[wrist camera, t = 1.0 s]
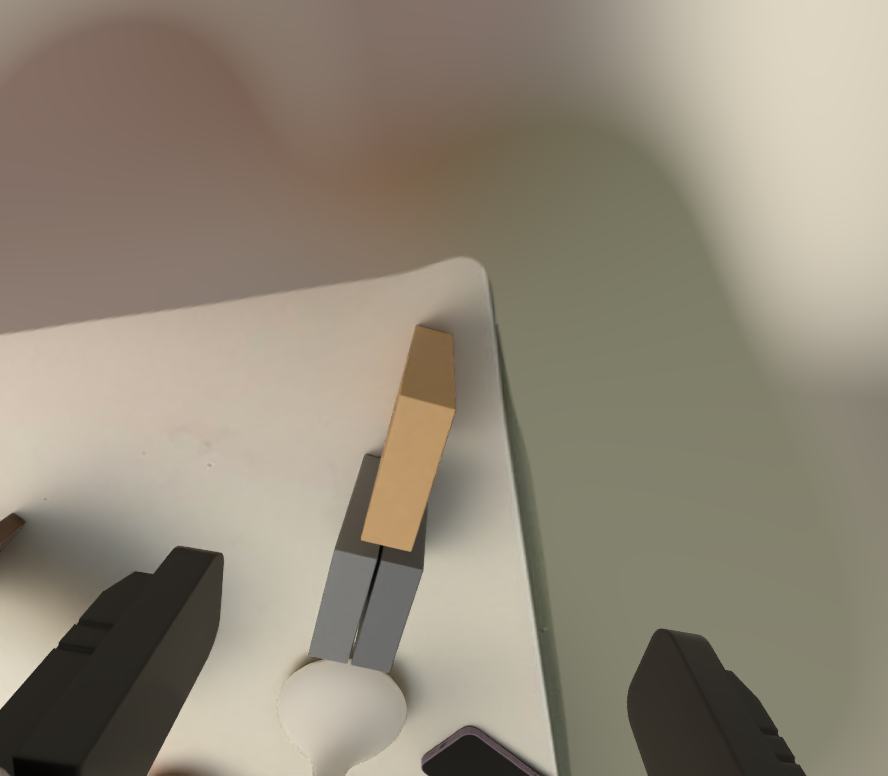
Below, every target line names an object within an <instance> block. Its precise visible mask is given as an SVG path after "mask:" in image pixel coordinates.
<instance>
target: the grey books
mask: <svg viewBox="0 0 888 776" xmlns="http://www.w3.org/2000/svg"><path fill="white" fill-rule="evenodd" d="M380 460H381V458H378V457H374V456H370V455H364V458H363V461H362V465H361V468H360V471H359V474H358V477H357V480H356V483H355V487H354V490H353V493H352V496H351V499H350V502H349V505H348V509H347V512H346V515H345V518H344V521H343V524H342V527H341V530H340V534H339V537H338V540H337V543H336V546H335V549H334V553H333V557H332V561H331V565H330V569H329V573H328V577H327V581H326V585H325V589H324V593H323V597H322V601H321V605H320V609H319V613H318V617H317V621H316V625H315V629H314V633H313V637H312V641H311V645H310V649H309V653H308V655H309V656H311V657H316V658H321V659H325V660H330V661H335V662H340V663H344V664H347V663H348V660H349V657H350V653H351V650H352V646H353V643H354V639H355V636H356V632H357V629H358V632H357V637H356V642H355V646H354V651H353V656H352V661H351V665H353V666H358V667H363V668H367V669H372V670H377V671H382V672H386V673H389V672H390V670H391V667H392V664H393V661H394V658H395V655H396V652H397V649H398V646H399V643H400V640H401V637H402V634H403V630H404V627H405V624H406V621H407V618H408V615H409V612H410V609H411V606H412V603H413V600H414V597H415V594H416V591H417V588H418V585H419V582H420V579H421V576H422V573H423V567H424V552H425V536H426V520H427V504H428V501H427V504H426V507H425V511H424V514H423V517H422V520H421V523H420V526H419V530H418V533H417V536H416V539H415V542H414V546H413V549H412V551H411V552H409V551H405V550H400V549H396V548H392V547H387V546H383V545H379V544H375V543H370V542H366V541H362V540H361V535H362V531H363V527H364V523H365V519H366V515H367V511H368V507H369V503H370V499H371V496H372V492H373V488H374V484H375V480H376V476H377V472H378V468H379V464H380ZM358 625H359V627H358Z"/></svg>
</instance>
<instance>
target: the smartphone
mask: <svg viewBox="0 0 888 776" xmlns="http://www.w3.org/2000/svg"><path fill="white" fill-rule="evenodd" d="M421 768H422V771H423V772H424V773H425V774H427V775H428V776H540V775H539V774H537V773H536V772H535V771H533V770H532V769H530V768H529V767H528V766H526V765H525V764H524V763H522V762H521V761H520V760H518V759H517V758H516V757H514V756H513V755H512V754H510V753H509V752H508V751H506V750H505V749H504V748H502V747H501V746H500V745H498V744H497V743H496V742H494V741H493V740H492V739H490V738H489V737H488V736H486V735H485V734H484V733H482V732H481V731H480V730H478V729H476V728H474V727H465V728H462V729H461V730H459V731H458V732H456V733H455V734H454V735H452V736H451V737H449V738H448V739H447V740H445V741H444V742H442V743H441V744H440V745H438V746H437V747H435V748H434V749H433V750H431V751H430V752H428V753H427V754H426V755H424V757H423V758H422V766H421Z"/></svg>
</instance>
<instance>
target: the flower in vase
mask: <svg viewBox="0 0 888 776" xmlns="http://www.w3.org/2000/svg"><path fill="white" fill-rule="evenodd" d="M351 661H352V659H349V660H348V663H347V664H344V663H340V662H335V661H330V660H325V659H323V660H319V661H316V662H313V663H310V664H308V665H306V666H304V667H302V668H301V669H299V670H298V671H296V672H295V673H294V674H292V675H291V676H290V677H289V678H288V679H287V680H286V681H285V683H284V684H283V685H282V687H281V689H280V691H279V694H278V699H277V711H278V719H279V723H280V725H281V728H282V729H283V731H284V733H285V734H286V736H287V737H288V739H289V740H290V742H291V743H292V744H293V745H294V746H295V747H296V748H297V749H298V750H299V751H300V752H301V753H302V754H303V755H304V756H305V757H306V758H308V759H309V760H310V762H311V764H312V767H313V776H345V774H346V773H347V771H348V770H349V769H350V768H351V767H353V766H355V765H358V764H360V763H362V762H364V761H367V760H369V759H371V758H373V757H375V756H376V755H378V754H379V753H381V752H382V751H383V750H385V749H386V748H387V747H388V746H390V745H391V744H392V743H393V742H394V741H395V740H396V738H397V737H398V735H399V733H400V731H401V729H402V727H403V725H404V723H405V720H406V716H407V705H406V701H405V698H404V696H403V694H402V692H401V690H400V689H399V687H398V686H397V684H396V683H395V681H394V680H393V679H392V678H391V677H390V676H389V675H387V674H386V673H385V672H382V671H377V670H372V669H367V668H363V667H358V666H353V665H351Z"/></svg>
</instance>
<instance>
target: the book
mask: <svg viewBox="0 0 888 776" xmlns="http://www.w3.org/2000/svg"><path fill="white" fill-rule="evenodd" d="M455 412H456V399H455V376H454V353H453V335H451V334H447V333H443V332H440V331H436V330H432V329H429V328H425V327H422V326H418V325H416V327H415V331H414V335H413V338H412V342H411V346H410V350H409V353H408V357H407V361H406V365H405V368H404V372H403V376H402V379H401V383H400V387H399V391H398V394H397V398H396V402H395V406H394V409H393V413H392V417H391V421H390V424H389V428H388V432H387V436H386V440H385V444H384V448H383V452H382V456H381V460H380V464H379V468H378V472H377V476H376V480H375V484H374V488H373V492H372V496H371V499H370V503H369V507H368V511H367V515H366V519H365V523H364V527H363V531H362V535H361V540H362V541H366V542H370V543H375V544H379V545H383V546H387V547H392V548H396V549H400V550H405V551H409V552H411V551H412V549H413V546H414V542H415V539H416V536H417V533H418V530H419V526H420V523H421V520H422V517H423V514H424V511H425V507H426V504H427V501H428V498H429V495H430V492H431V488H432V485H433V482H434V479H435V476H436V472H437V469H438V466H439V463H440V460H441V457H442V453H443V450H444V447H445V444H446V441H447V438H448V434H449V431H450V428H451V425H452V422H453V418H454V415H455Z"/></svg>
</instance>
